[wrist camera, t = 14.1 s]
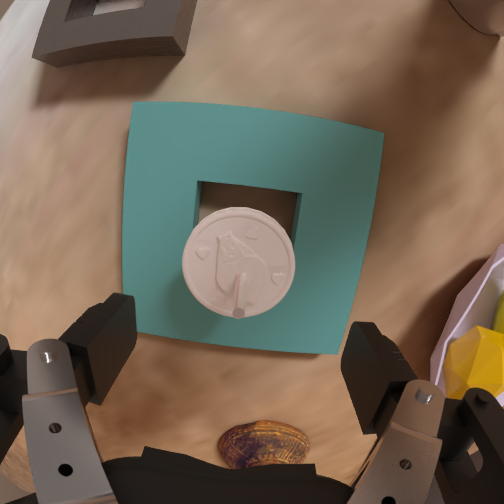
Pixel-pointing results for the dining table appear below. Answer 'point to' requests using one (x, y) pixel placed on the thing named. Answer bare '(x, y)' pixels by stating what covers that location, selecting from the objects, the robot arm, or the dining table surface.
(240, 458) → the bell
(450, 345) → the fruit bowl
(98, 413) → the dining table surface
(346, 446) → the dining table surface
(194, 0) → the tall socket
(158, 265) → the low socket
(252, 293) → the smoothie
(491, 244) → the dining table surface
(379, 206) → the dining table surface
